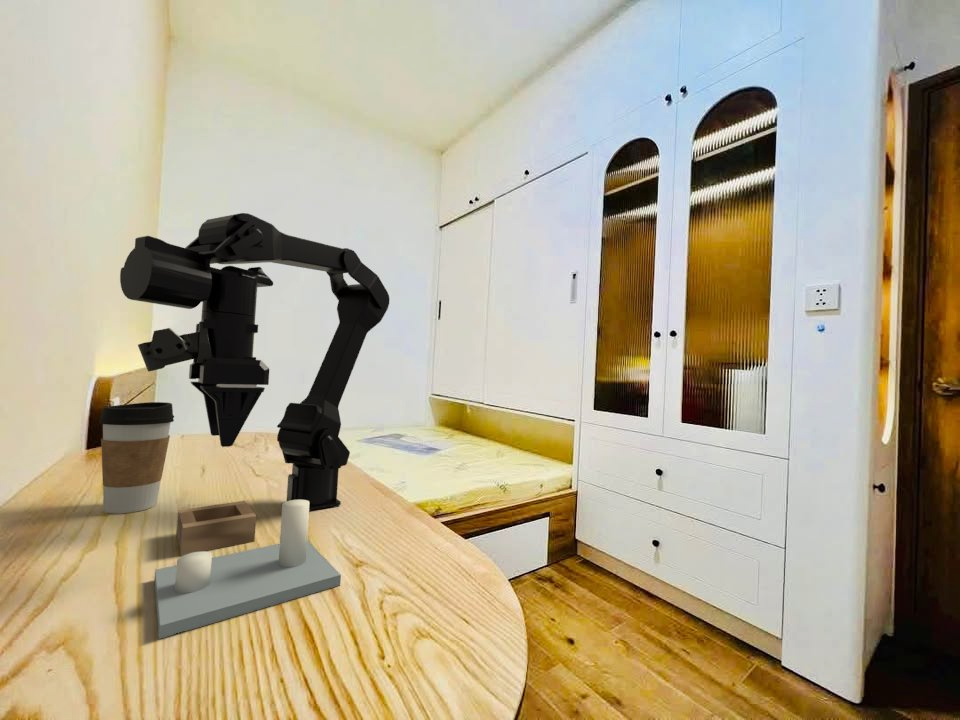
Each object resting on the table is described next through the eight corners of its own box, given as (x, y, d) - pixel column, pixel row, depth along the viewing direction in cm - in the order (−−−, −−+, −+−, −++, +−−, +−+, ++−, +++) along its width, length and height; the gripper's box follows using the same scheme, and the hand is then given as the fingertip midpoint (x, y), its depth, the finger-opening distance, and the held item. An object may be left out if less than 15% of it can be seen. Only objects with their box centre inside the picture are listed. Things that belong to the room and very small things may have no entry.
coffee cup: (180, 503, 61) (188, 404, 62) (115, 520, 53) (125, 407, 54) (143, 495, 64) (151, 400, 65) (76, 511, 56) (86, 403, 57)
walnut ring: (242, 523, 55) (244, 500, 55) (254, 541, 49) (256, 516, 49) (176, 534, 50) (178, 510, 50) (181, 555, 44) (183, 527, 45)
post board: (304, 546, 48) (308, 487, 48) (340, 585, 40) (344, 512, 40) (154, 580, 39) (160, 506, 39) (159, 639, 31) (166, 545, 31)
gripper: (146, 314, 53) (137, 434, 52) (146, 295, 38) (133, 461, 38) (243, 323, 60) (236, 429, 59) (274, 311, 46) (265, 451, 45)
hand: (220, 440), depth 50 cm, fingers open, 9 cm apart
